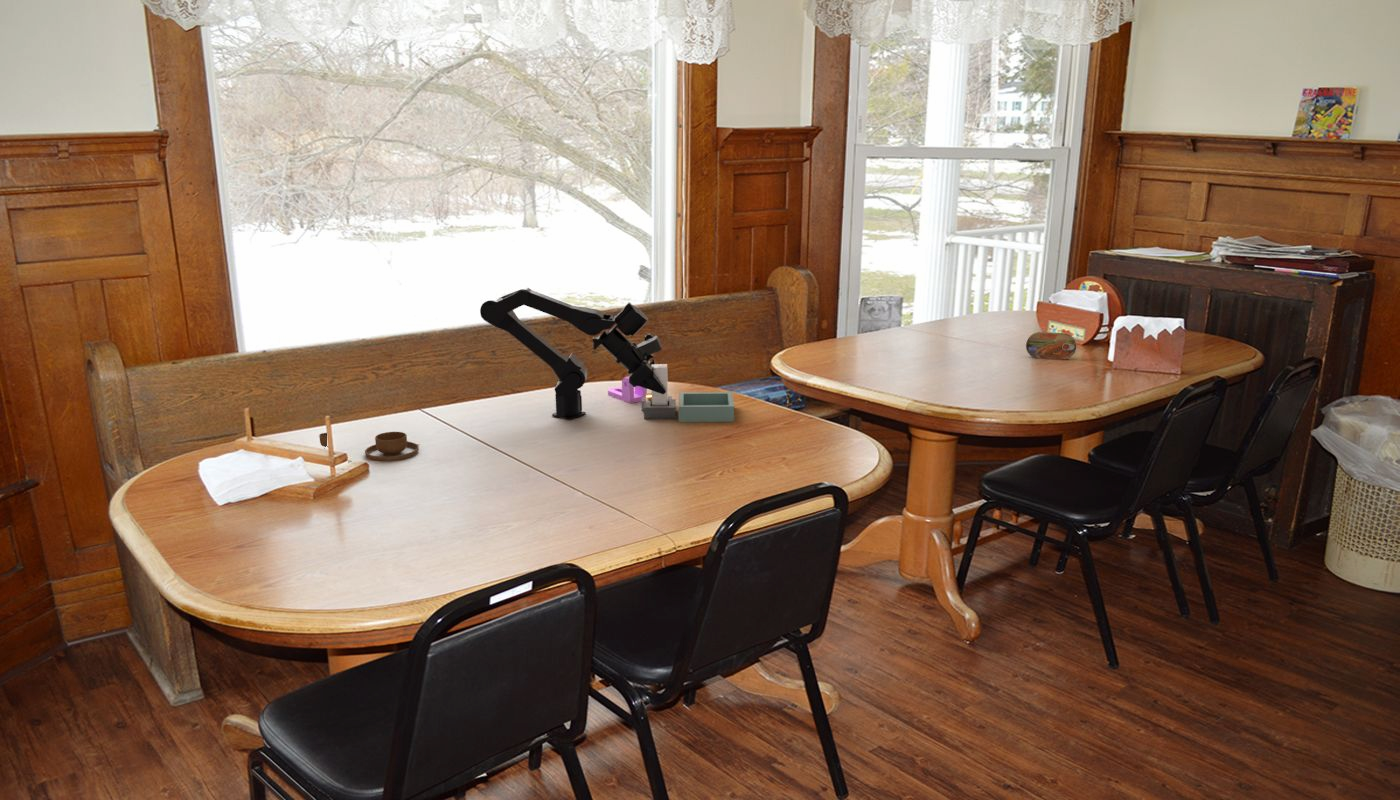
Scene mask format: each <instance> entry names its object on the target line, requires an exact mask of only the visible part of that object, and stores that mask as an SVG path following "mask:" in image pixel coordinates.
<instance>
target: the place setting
mask: <svg viewBox="0 0 1400 800" xmlns="http://www.w3.org/2000/svg"><path fill="white" fill-rule="evenodd" d="M327 433H328V432H322V433H319V434H318V435H319V436H318V437H319V443H320V445H321V446H322V447H323V448H324V447H326V446H327ZM407 439H408V438H407V433H405V432H403V431H387V432H382V433H380V434H379V433H378V434H377V435H376V436H375V437H374V441H375V444H372V445H370V446H368V447H366V448H365V450H364V455H365V457H366V458H367V459H369V460H370V461H375V462H397V461H403V460H406V459H409V458H412V457H414V456H416V455H417V454H418V453H419V449H420V444H418V443H415V442H413V441H408V440H407ZM327 447H328V446H327ZM407 448H408V449H412V450H413V451H411V452H408V453H404V454H402V452H403V451H405V450H406V449H407ZM376 451H378V452H379V453H381V454H383V456H379V455H373V454H372V453H373V452H376ZM348 463H352V460H350V459H348Z"/></svg>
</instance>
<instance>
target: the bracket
mask: <svg viewBox="0 0 1400 800" xmlns="http://www.w3.org/2000/svg"><path fill="white" fill-rule="evenodd" d="M646 394H648V389H646V388H643V387H640V386H636V387H633V386H632V385H631V384H630V383H629V376H623V378H622V379H621V386H618V387H617V386H615V387H610V388H608V389H607V395H608V396H610V397H612V398H615V399H617V400H620V401H623V402H625V403H629V404H633V403H637V402H641V400H642V397H645V395H646Z"/></svg>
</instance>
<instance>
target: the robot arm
mask: <svg viewBox="0 0 1400 800" xmlns="http://www.w3.org/2000/svg"><path fill="white" fill-rule="evenodd" d="M522 306H526V307H529V308H531V309H534V310H537V311H538V312H541V313H544V314H548V315H550V316H552V317H554V318H558V319H561V320H563V321H566V322H568V323H570V324H571V325H572V326H573V327H574V328H575V329H577V330H579V331H581V332H582V333H584V334H586V335H587V336H593V337H592V343H593V346H592V347H593V348H592V349H593V350H597V348H599V347H600V346H601V347H602V348H604V349H605V351H606V352H608V353H609V354H610V355H611V356H612V357H613V358H614V359H615V362H616V363H617V364H620V365H622V366H623V367H624V368H625V369H626V370H627V373H628V374H629V376H628V377H629V383H630V384H631V385H632V386H633V387H634V388H635V387H636V386H640V387H643V388H646V389H647V390H650V391H651V392H652V391H655V392H658V393H661V394H665V393H666V390H665V389H664V388H663V386H662V385H661V384H660V382H659V381H658V380H657V378H656V377H655V376H654V367H653V368H652V367H651V366H652V364H656V359H655V358H654V357H655V354H654V353H659V352H661V351H662V350H663V344H662V343H661V340H660V338H659V337H658V335H653V334H651V332H650V333H648V334H646V335H645V336H644V341H642V342H640V343H638V344H637V343H636V342H635V341H631V340H629V339H628V338H627V337H629V336H632V337H634V336H636V334H637V333H638V332H639V331H640V330H641V329H642V328H643V327H644V326H645V325H646V324H647V323H648V322H649V318H648V316H647V315H646V314H645V313H644V312H643V311H642V310H641V309H640V308H638V307H637V306H635V305H633V304H632V303H631V302H628V303H626V305H624V308H623V309H622V310H621V311H620V312H618V314H616V315H614V314H607V313H603V312H602V311H601V310H600V309H597V308H592V307H586V306H578V305H572V304H569V303H566V302H564V301H561V300H558V299H556V298H553V297H552V296H551V297H550V296H548V295H546V294H543V293H541V292H538V291H535V290H532V289H531V288H529V287H527V286H524V287H522V286H521V287H520V288H518V289H517V290H514V291H512V292H510V293H508V294H505V295H502V296H498V295H496V296H490V297H489V298H487V300H485V301H484V302H483V303H482V304H481V305H480V309H479V311H480V317H481V319H482V320H483V321H484V322H486V323H488V324H490V325H491V326H493V327H494V328H497V329H500V330H502V331H505V332H507V333H509V334H510V336H512V337H513V338H515V339H516V340H517V341H518V342H520V343H521V344H522V345H523V346H525V347H526V348H527V349H528V350H529V351H531V352H532V353H533V354H534V355H536V356H537V357H539V358H540V360H542V361H543V362H544V363H546V364H547V365H548V366H549V367H550V368H551V369H552V371H553V372H554V374H555V375H556V377H557V378H558V381H557V384H556V385H555V387H554V392H555V412H554V413H551V417H554V418H555V417H556V418H561V419H566V420H573V419H575V418H579V417H582V416H585V415H587V412H586V411H583V403H582V402H583V401H582V399H583V398H582V393H581V392H582V391H581V388H582V387H583V386H584V384H585V382H586V381H587V377H588V369H587V367H586V366H585V361H582V360H581V359H579V358H578V357H577V356H576V355H575V354H574V353H573V352H571V353H570V355H569V356H567V355H565V354H563V353H561V352H560V351H559V350H557V349H556V348H555V347H554V346H552V345H551V344H550V343H549V342H548V341H546V340H545V339H544V338H543V337H542V336H540V335H539V334H538V333H536V332H535V331H534V330H533V329H532V328H530V327H529V326H528V325H527V324H525V323H524V322H523V321H522V320H521V319H519V317H518V316H517V314H516V313H515V312H514V310H516V309H518V308H520V307H522ZM601 332H602V333H601ZM597 335H598V336H597ZM595 336H596V337H595ZM650 359H652V360H651V361H650ZM579 389H580V390H579Z"/></svg>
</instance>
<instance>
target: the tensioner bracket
mask: <svg viewBox="0 0 1400 800" xmlns="http://www.w3.org/2000/svg"><path fill="white" fill-rule="evenodd" d="M640 404H641V405H640V407H641V411H642V412H643V420H675V419H676V415H677V412H676V408H677V406H676V404H677V403H676V399H673V396H669V395H668V406H652V392H650V393H649V392H647V394H646V395H645V397H642V400H641V401H640Z"/></svg>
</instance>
